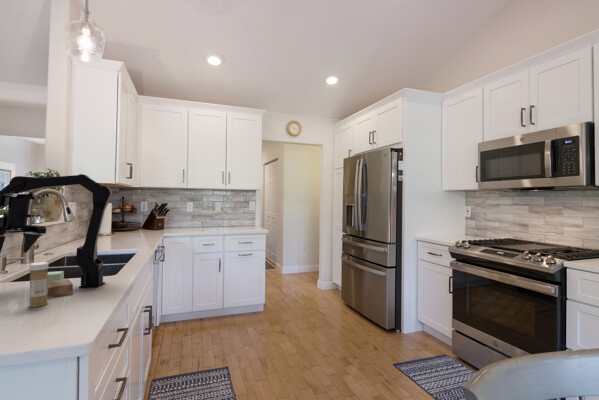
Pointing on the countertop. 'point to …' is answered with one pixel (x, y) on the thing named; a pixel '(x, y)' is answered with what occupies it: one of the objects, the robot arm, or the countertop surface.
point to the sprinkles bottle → (38, 284)
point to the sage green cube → (55, 276)
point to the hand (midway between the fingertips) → (11, 253)
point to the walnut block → (59, 288)
